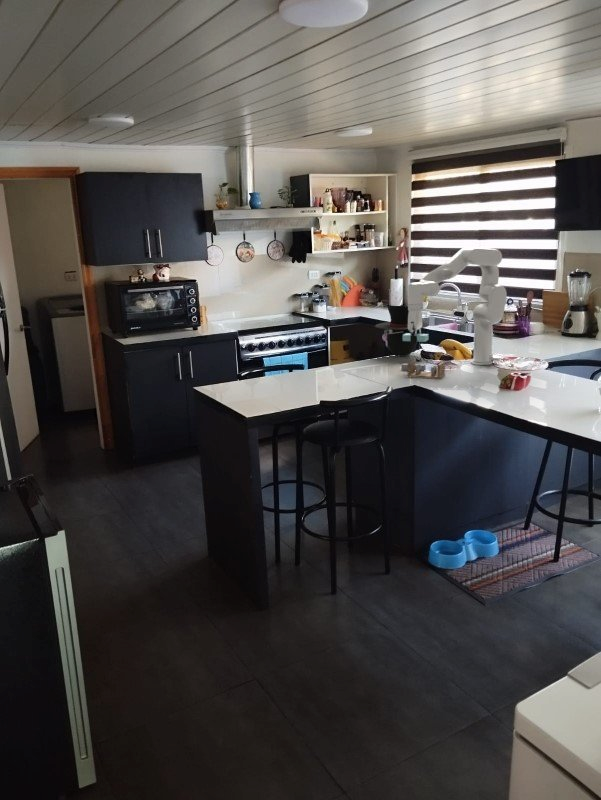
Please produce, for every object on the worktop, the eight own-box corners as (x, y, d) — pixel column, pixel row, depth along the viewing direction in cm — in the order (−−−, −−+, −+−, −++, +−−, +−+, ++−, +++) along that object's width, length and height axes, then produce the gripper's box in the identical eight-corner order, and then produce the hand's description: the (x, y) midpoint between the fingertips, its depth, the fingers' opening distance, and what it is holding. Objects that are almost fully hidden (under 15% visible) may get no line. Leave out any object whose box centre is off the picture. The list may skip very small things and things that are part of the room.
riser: (425, 370, 326) (425, 364, 325) (423, 371, 323) (423, 365, 323) (403, 368, 332) (403, 363, 331) (401, 370, 329) (401, 364, 328)
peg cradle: (445, 375, 314) (445, 361, 312) (440, 379, 306) (440, 365, 304) (412, 373, 321) (412, 359, 319) (406, 376, 314) (406, 363, 312)
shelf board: (428, 339, 320) (428, 334, 320) (425, 341, 316) (425, 335, 315) (406, 339, 326) (406, 333, 325) (402, 340, 322) (402, 335, 321)
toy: (376, 351, 383) (376, 302, 375) (428, 350, 377) (428, 300, 370) (374, 361, 354) (373, 308, 346) (429, 360, 348) (429, 307, 340)
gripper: (414, 305, 325) (414, 339, 330) (402, 309, 311) (402, 345, 316) (428, 305, 322) (427, 339, 327) (417, 309, 308) (417, 345, 312)
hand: (415, 342), depth 321 cm, fingers closed on shelf board, 5 cm apart
